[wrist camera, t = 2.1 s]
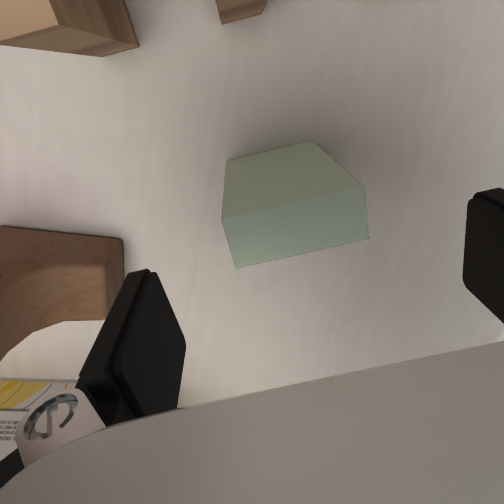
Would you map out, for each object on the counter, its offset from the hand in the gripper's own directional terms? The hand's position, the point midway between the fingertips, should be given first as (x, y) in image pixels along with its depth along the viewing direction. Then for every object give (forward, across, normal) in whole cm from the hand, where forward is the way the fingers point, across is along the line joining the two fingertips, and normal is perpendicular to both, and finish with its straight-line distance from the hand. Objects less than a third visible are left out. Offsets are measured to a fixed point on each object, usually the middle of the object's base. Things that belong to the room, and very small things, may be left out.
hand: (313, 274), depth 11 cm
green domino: (+16, 0, +1) cm, 16 cm away
